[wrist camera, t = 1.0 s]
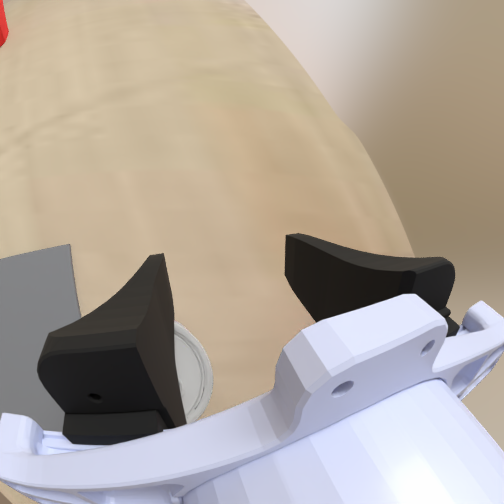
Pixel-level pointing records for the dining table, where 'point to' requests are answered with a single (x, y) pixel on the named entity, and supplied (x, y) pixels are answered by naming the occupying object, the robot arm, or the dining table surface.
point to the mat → (33, 328)
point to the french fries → (3, 25)
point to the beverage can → (192, 373)
